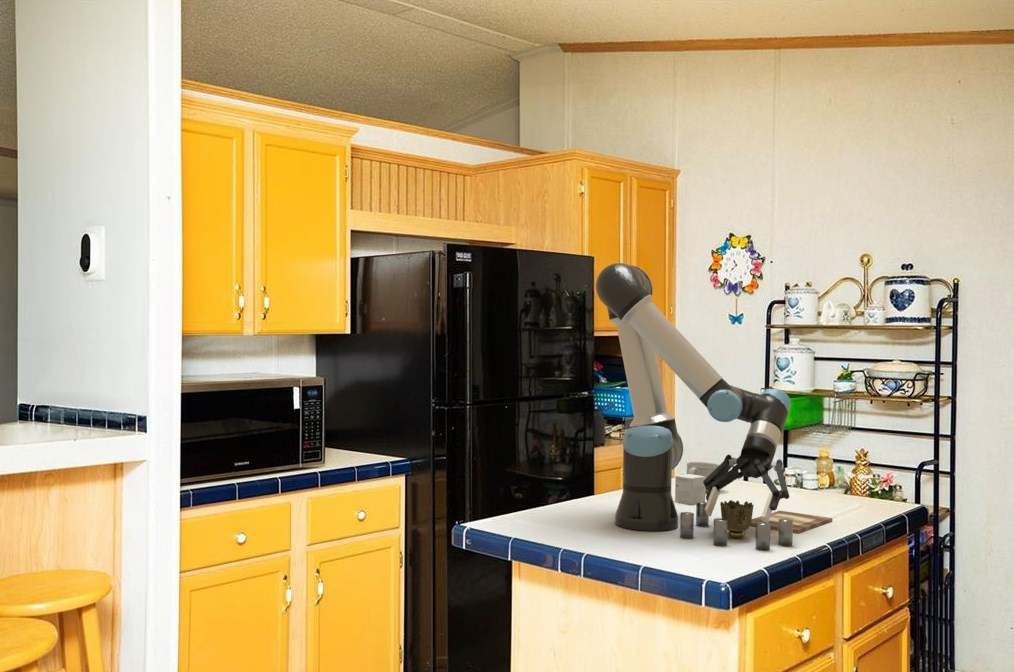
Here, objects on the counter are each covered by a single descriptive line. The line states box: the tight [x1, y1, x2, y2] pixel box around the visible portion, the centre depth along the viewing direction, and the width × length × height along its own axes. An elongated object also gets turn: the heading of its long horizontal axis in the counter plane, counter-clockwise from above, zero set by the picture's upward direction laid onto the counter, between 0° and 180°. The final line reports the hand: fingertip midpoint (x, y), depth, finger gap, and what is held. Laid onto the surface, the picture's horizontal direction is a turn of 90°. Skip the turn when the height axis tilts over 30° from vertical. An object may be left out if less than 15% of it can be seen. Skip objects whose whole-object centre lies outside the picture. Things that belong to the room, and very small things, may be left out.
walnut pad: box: [750, 510, 833, 534], centre depth 240 cm, size 20×14×1 cm
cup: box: [719, 499, 754, 540], centre depth 222 cm, size 8×7×8 cm
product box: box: [674, 473, 706, 506], centre depth 267 cm, size 6×6×7 cm
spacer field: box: [679, 501, 794, 551], centre depth 223 cm, size 22×29×6 cm
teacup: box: [686, 461, 720, 493], centre depth 285 cm, size 14×11×8 cm
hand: (735, 516), depth 220 cm, fingers open, 13 cm apart
